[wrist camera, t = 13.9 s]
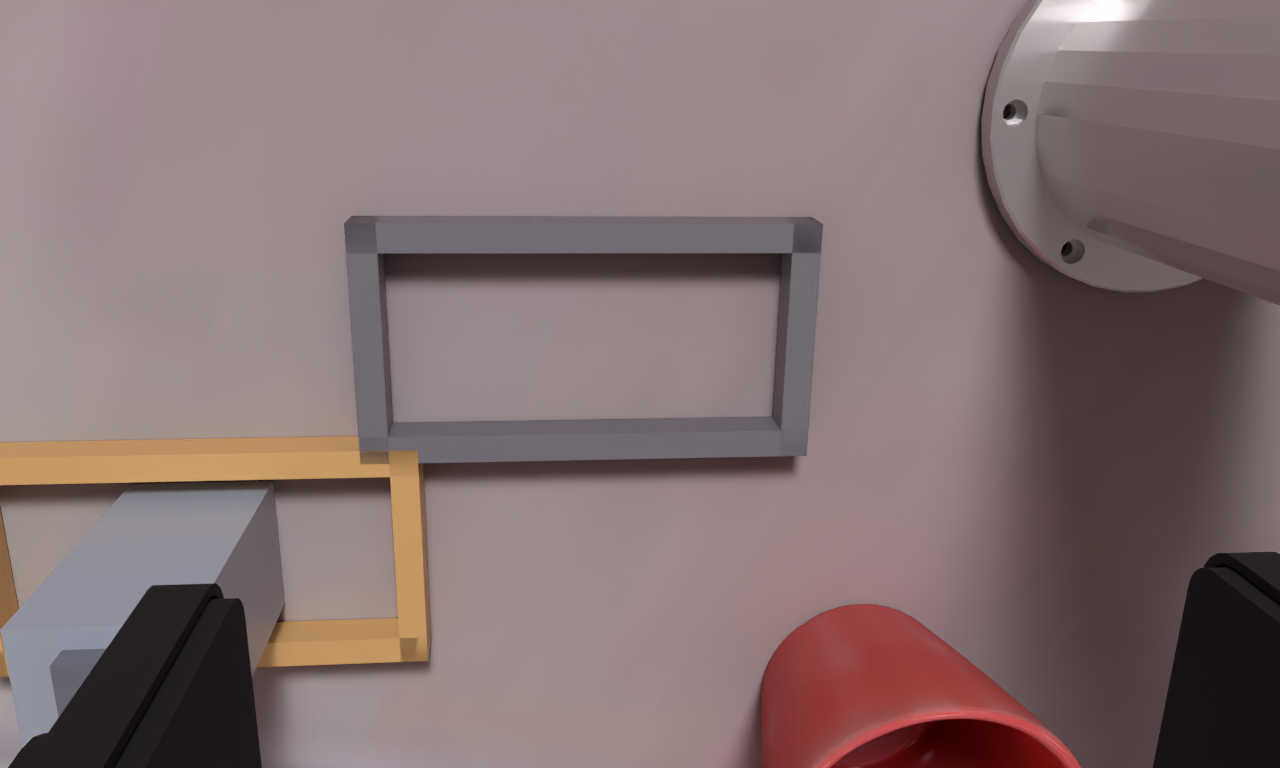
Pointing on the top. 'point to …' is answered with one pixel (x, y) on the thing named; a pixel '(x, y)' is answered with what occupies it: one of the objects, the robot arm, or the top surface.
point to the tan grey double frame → (416, 443)
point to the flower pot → (891, 701)
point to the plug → (142, 583)
